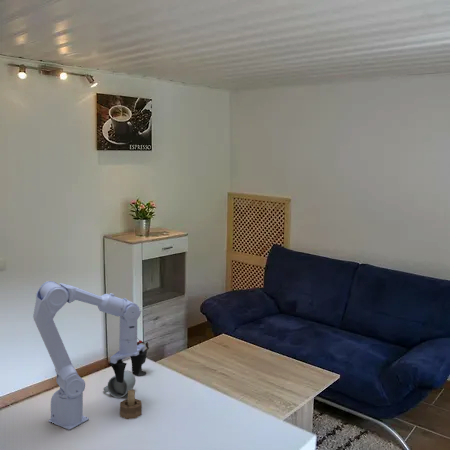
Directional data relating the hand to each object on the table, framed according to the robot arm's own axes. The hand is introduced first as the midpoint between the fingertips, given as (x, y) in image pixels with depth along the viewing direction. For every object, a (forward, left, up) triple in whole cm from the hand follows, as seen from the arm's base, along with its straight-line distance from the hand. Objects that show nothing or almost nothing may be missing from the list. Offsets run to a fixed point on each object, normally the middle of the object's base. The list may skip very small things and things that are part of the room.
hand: (127, 378), depth 159 cm
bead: (+4, -3, -10) cm, 11 cm away
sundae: (-15, +24, -10) cm, 30 cm away
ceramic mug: (-10, +6, -10) cm, 16 cm away
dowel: (+4, -3, -10) cm, 11 cm away
